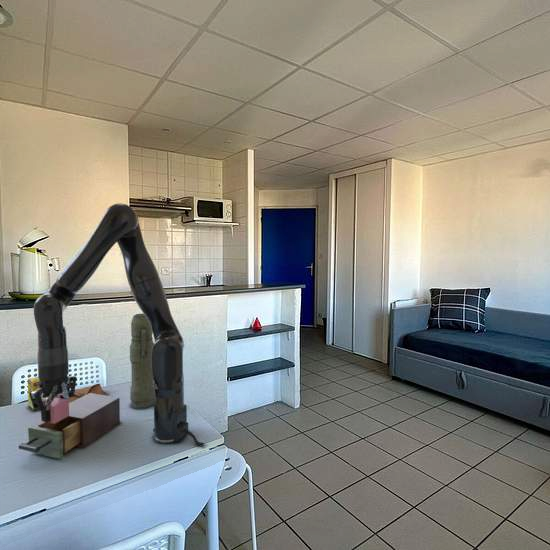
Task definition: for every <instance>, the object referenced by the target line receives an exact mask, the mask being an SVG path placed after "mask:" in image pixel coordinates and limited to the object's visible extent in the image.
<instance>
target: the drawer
mask: <svg viewBox="0 0 550 550" xmlns="http://www.w3.org/2000/svg"><path fill="white" fill-rule="evenodd" d="M27 435H28V441H26V442H25V443H24V442H21V443H19V445H18V450H23V451H27V452H29V453H33V454H38V455H41V456H47V457H50V458H55V459H62V458H63V457H64V453H67V452H68V451H70V450H71V449H73V448H75V447H77V446H76V445H78V444H79V443H81V421H80V420H74V419H69V418H64V419H63V420H61V421H59V422H57V423H55V424H53V423H47V422H43V421H41V422H40V423H38V424H37V426H36V425H31V426H28V427H27Z"/></svg>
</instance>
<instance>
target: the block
mask: <svg viewBox="0 0 550 550" xmlns="http://www.w3.org/2000/svg"><path fill="white" fill-rule="evenodd" d="M46 403H47V402H46ZM45 405H46V404H45ZM50 414H51V421H50V422H48V423H53V424H55V423H57V422H59V421H61V420H63V419H64V418H66V417H68V416H69V400H67V399H61V398H54V400H53V401H52V402H51V406H50ZM40 418H41V419H40V421H41V422H43V421H42V417H41V416H40Z"/></svg>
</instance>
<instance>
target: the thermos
mask: <svg viewBox="0 0 550 550" xmlns="http://www.w3.org/2000/svg"><path fill="white" fill-rule="evenodd" d="M130 335H131V340H130V346H129V361H130V364H131V365H130V366H131V385H130V391H129V393H130V396H129V397H130V407H131V408H132V409H135V410H142V409H143V410H144V409H148V408H151V407H153V406H154V381H153V377H152V347H153V345H154V343H155V342H154V341H153V340H154V337H153V332H152V329H151V326H150V323H149V321H148V319H147V318H146V316H145V315H144V313H136V314H135V315H133V317H132V319H131V322H130Z"/></svg>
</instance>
